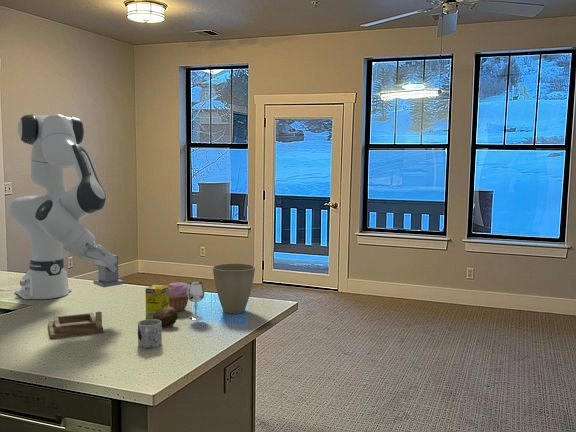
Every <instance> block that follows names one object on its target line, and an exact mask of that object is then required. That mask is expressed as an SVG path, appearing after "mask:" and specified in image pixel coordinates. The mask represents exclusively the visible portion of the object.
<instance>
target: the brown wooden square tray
mask: <svg viewBox="0 0 576 432" xmlns="http://www.w3.org/2000/svg"><path fill="white" fill-rule="evenodd" d="M102 318H103V314H102V311H96V312H95V314H94V312H87V313H78V314H77V313H76V314H68V315H59V316H53V320H51V321H48V330H49V335H50V339H59V338H68V337H69V338H70V337H78V336H79V337H80V336H86V335H96V334H103V333H104V327H103V319H102Z"/></svg>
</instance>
